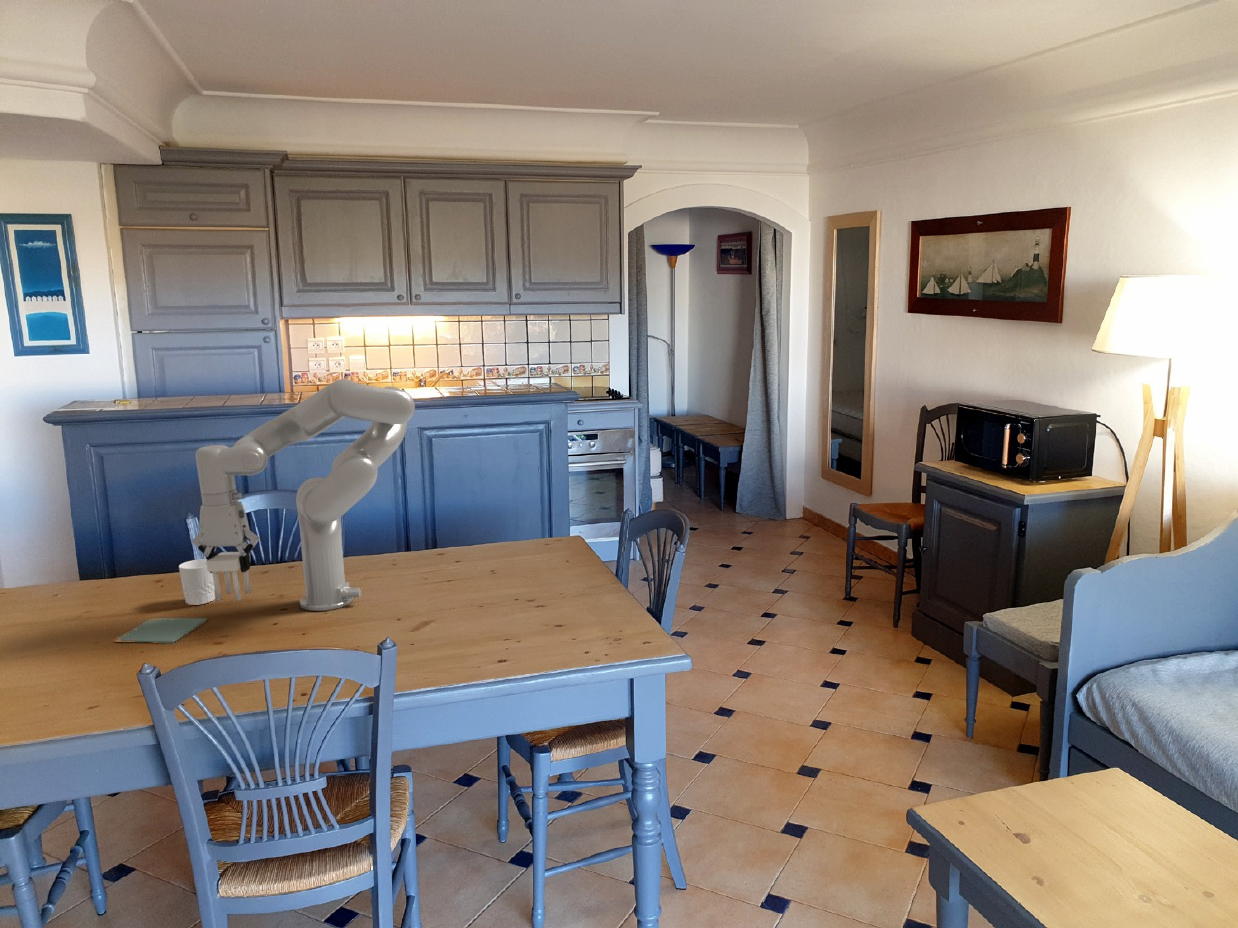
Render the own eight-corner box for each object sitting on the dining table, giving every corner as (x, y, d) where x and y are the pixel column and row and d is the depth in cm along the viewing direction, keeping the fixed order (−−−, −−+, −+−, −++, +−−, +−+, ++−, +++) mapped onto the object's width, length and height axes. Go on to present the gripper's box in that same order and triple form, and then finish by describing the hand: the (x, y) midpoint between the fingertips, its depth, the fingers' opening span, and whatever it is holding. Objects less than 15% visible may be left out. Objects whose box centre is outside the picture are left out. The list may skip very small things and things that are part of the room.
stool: (255, 591, 218) (249, 551, 216) (240, 601, 211) (234, 560, 209) (227, 591, 218) (221, 552, 216) (212, 601, 212) (206, 561, 210)
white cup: (223, 596, 231) (219, 559, 229) (206, 607, 223) (202, 568, 221) (194, 596, 231) (190, 559, 230) (176, 606, 224) (172, 568, 222)
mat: (207, 620, 214) (206, 618, 214) (173, 643, 200) (173, 641, 200) (151, 619, 215) (150, 617, 215) (114, 642, 201) (113, 640, 201)
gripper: (262, 493, 213) (272, 565, 216) (193, 495, 214) (203, 566, 218) (247, 501, 205) (257, 575, 209) (175, 503, 207) (186, 577, 211)
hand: (230, 570), depth 213 cm, fingers closed on stool, 7 cm apart
